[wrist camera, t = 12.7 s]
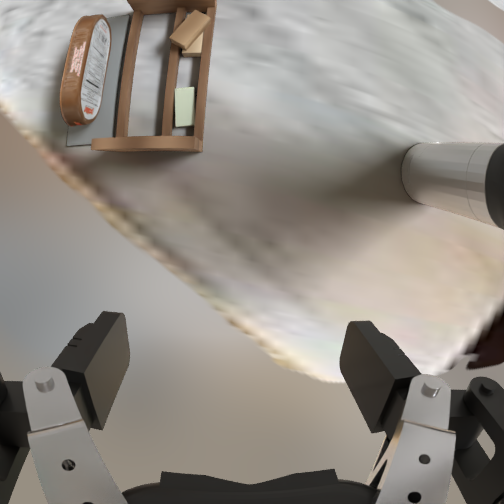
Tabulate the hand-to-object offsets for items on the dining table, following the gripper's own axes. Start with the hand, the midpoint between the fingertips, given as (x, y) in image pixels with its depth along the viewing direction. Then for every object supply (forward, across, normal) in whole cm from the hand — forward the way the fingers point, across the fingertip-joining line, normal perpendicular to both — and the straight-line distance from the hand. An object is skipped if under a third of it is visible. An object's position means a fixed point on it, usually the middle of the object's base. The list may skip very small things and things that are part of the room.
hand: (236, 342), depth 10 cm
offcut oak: (+28, +7, -23) cm, 37 cm away
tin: (+30, +19, -18) cm, 39 cm away
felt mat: (+30, +20, -18) cm, 40 cm away
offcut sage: (+30, +6, -13) cm, 34 cm away
